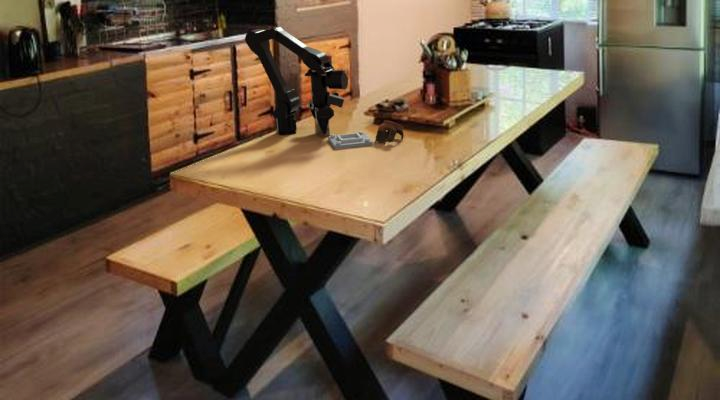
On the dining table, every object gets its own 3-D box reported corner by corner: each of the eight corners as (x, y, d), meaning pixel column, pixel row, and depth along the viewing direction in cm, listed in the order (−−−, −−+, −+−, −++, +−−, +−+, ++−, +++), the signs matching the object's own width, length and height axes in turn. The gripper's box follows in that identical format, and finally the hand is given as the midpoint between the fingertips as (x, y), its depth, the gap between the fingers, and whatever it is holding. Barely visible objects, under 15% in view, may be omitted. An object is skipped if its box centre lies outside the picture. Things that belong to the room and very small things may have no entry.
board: (335, 149, 254) (335, 143, 253) (328, 140, 266) (327, 133, 265) (372, 145, 256) (372, 138, 256) (363, 136, 268) (363, 130, 268)
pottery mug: (370, 141, 264) (378, 119, 264) (394, 150, 266) (403, 128, 266) (378, 140, 252) (387, 117, 252) (404, 150, 254) (412, 127, 254)
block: (317, 137, 271) (316, 120, 269) (315, 134, 275) (314, 118, 273) (329, 135, 271) (328, 119, 269) (327, 132, 276) (326, 116, 274)
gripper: (347, 91, 260) (349, 134, 266) (336, 81, 278) (338, 123, 283) (315, 94, 258) (318, 138, 263) (306, 84, 275) (309, 126, 281)
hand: (322, 131), depth 273 cm, fingers open, 9 cm apart
